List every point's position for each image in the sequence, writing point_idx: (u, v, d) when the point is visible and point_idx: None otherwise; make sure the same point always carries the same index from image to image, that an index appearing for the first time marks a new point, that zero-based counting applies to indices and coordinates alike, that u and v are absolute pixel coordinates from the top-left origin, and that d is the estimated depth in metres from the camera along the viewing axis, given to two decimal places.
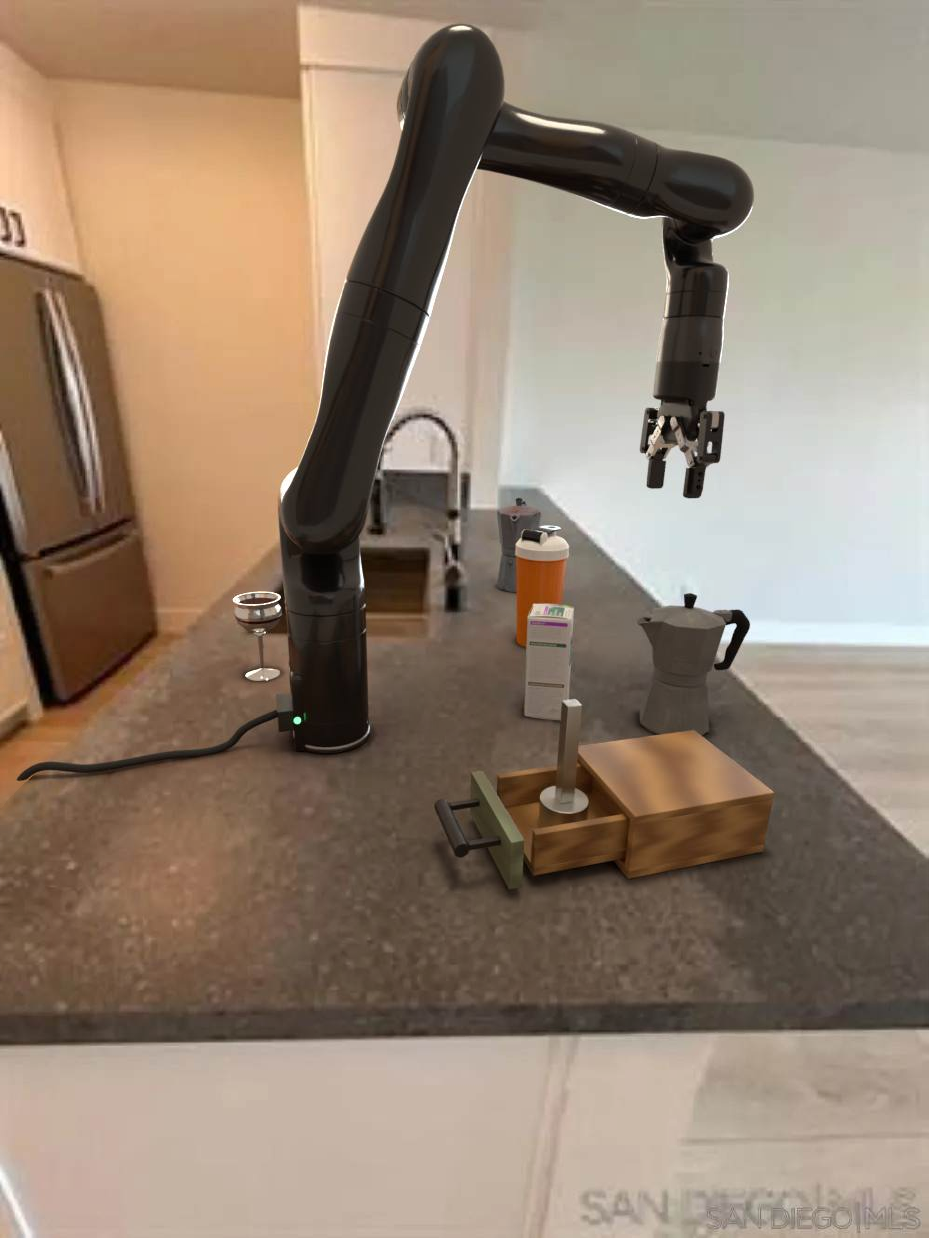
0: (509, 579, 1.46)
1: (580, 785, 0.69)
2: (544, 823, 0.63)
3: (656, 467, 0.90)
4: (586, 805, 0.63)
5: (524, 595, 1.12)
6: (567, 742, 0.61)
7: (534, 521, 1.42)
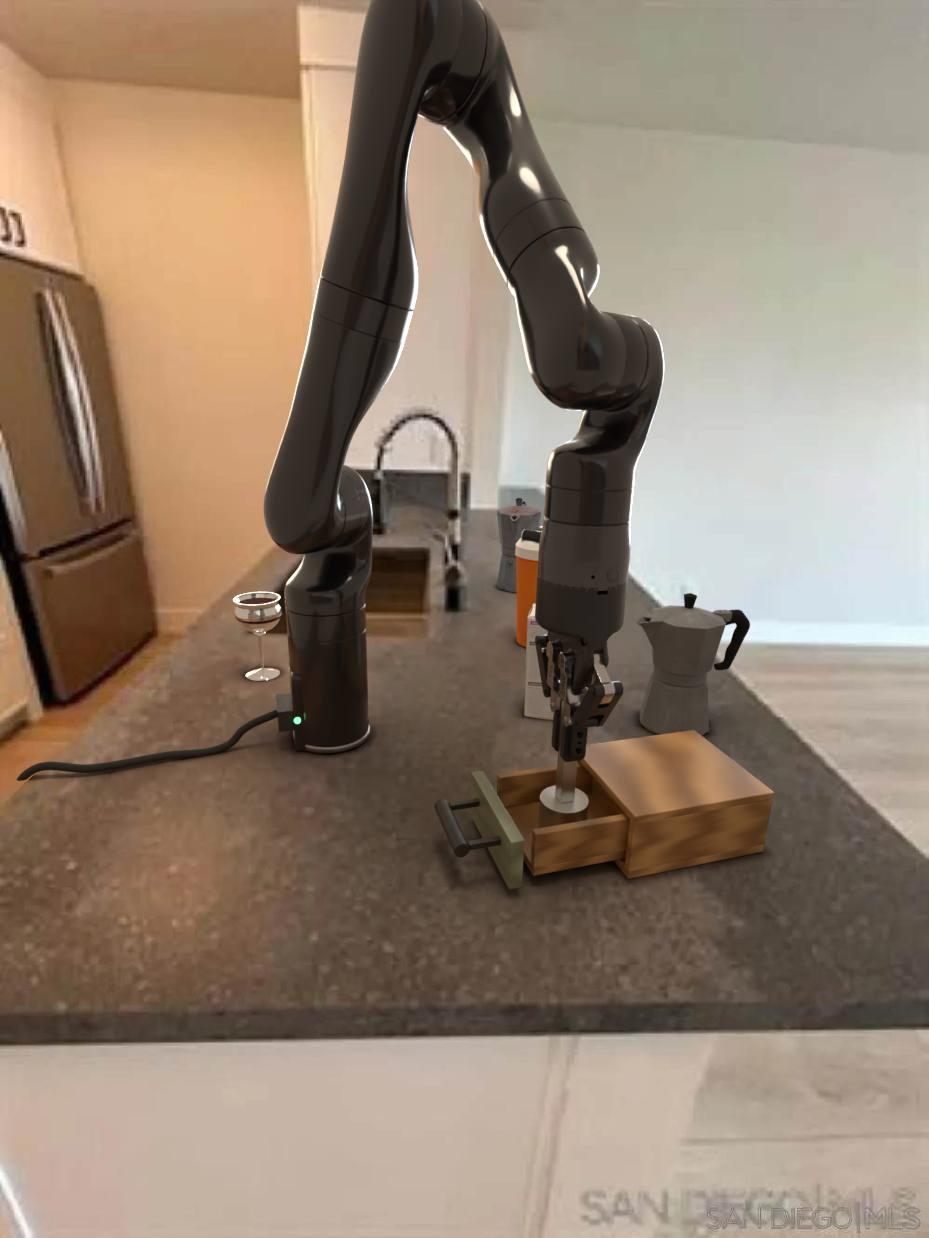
0: (509, 579, 1.46)
1: (580, 785, 0.69)
2: (545, 823, 0.63)
3: None
4: (586, 804, 0.63)
5: (524, 595, 1.12)
6: None
7: (534, 521, 1.42)
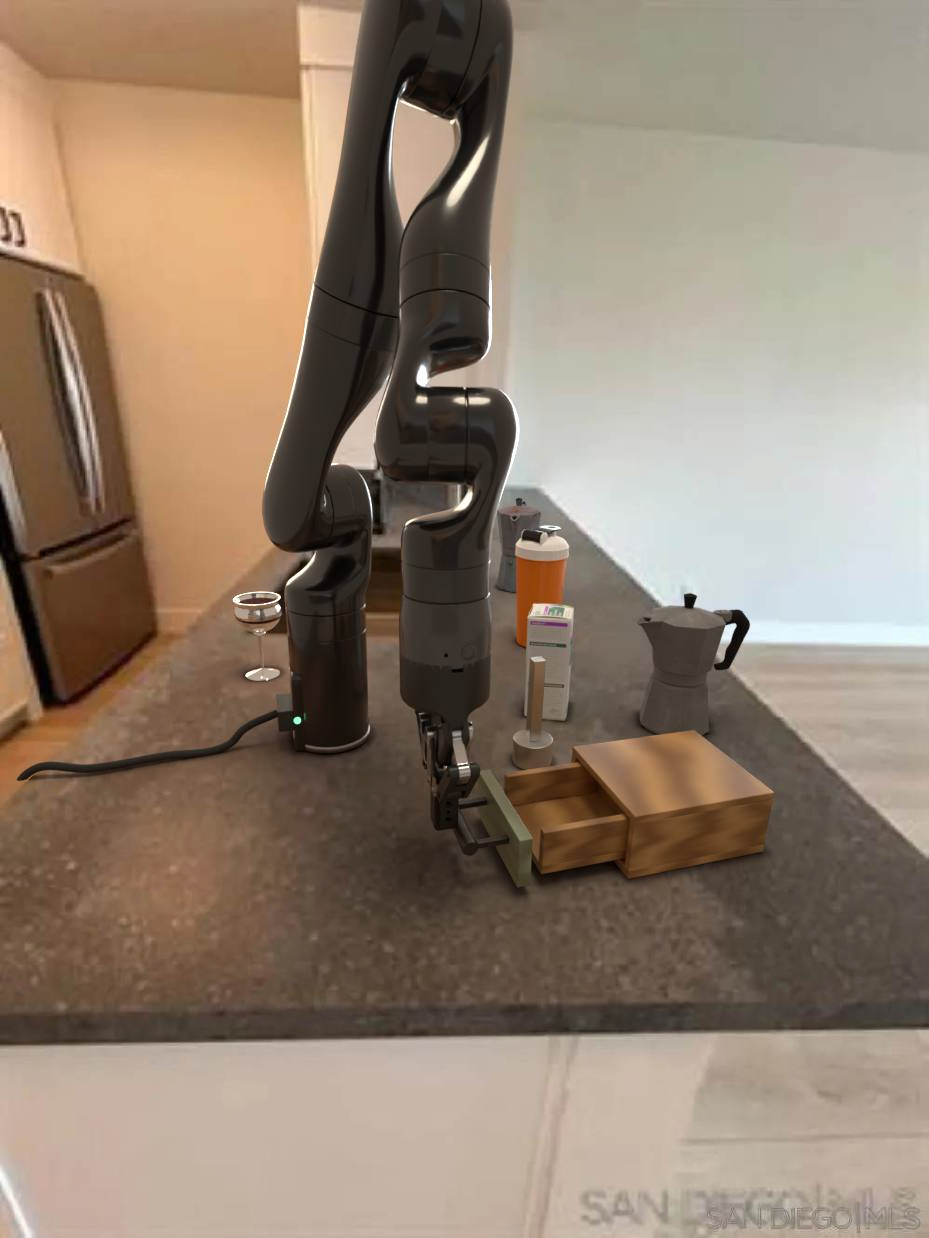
0: (509, 579, 1.46)
1: (587, 784, 0.69)
2: (517, 757, 0.78)
3: None
4: (550, 743, 0.78)
5: (524, 595, 1.12)
6: (534, 691, 0.76)
7: (534, 521, 1.42)
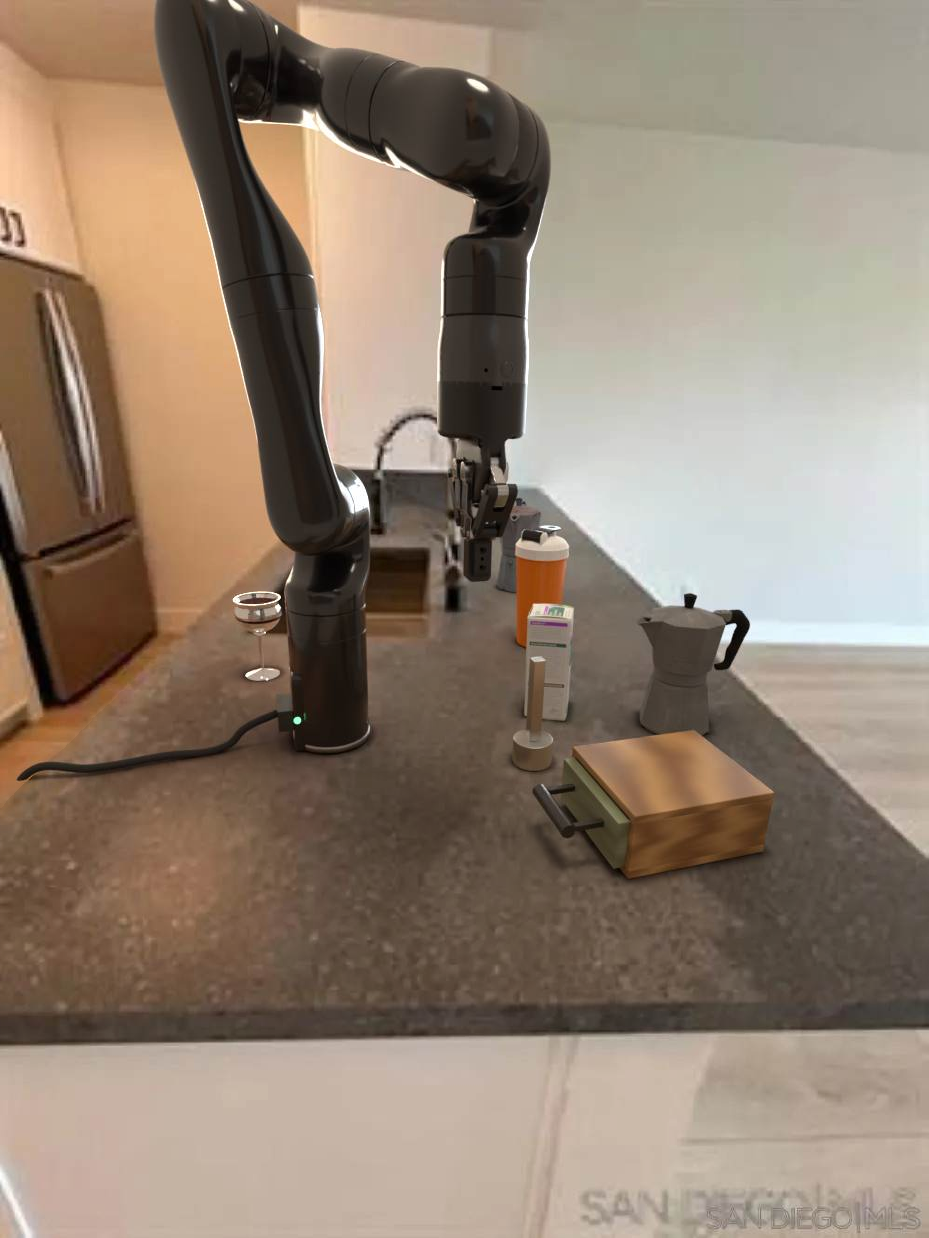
0: (509, 579, 1.46)
1: None
2: (517, 757, 0.78)
3: None
4: (550, 743, 0.78)
5: (524, 595, 1.12)
6: (534, 691, 0.76)
7: (534, 521, 1.42)
